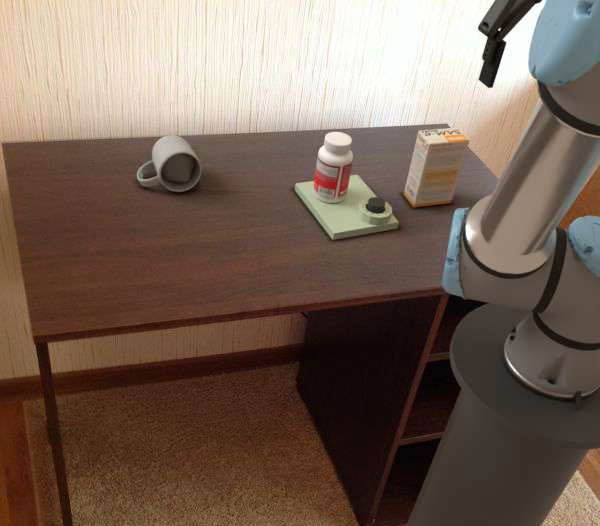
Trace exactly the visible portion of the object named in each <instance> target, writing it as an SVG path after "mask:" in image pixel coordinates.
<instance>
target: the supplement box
mask: <svg viewBox="0 0 600 526" xmlns="http://www.w3.org/2000/svg"><path fill="white" fill-rule="evenodd" d="M469 144H470V138H468V136H467V135H466V134H465V133H464V132H463V131H462V130H461V129H460V128H459V127H447V128H436V129H435V128H434V129H424V130H423V129H422V130H418V131H417V136H416V141H415V145H414V149H413V153H412V158H411V161H410V165H409V170H408V175H407V178H406V182H405V186H404V191H403V196H404V197H405V198H406V200H408V202H409V204H411V206H412V207H413V208H422V207H429V206H436V205H446V204H451V203H452V201H453V198H454V195H455V191H456V188H457V184H458V181H459V179H460V178H459V177H460V175H461V171H462V168H463V164H464V161H465V158H466V154H467V151H468V148H469Z"/></svg>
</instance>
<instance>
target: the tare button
mask: <svg viewBox="0 0 600 526" xmlns="http://www.w3.org/2000/svg"><path fill="white" fill-rule="evenodd" d="M385 202H386V201H385V200H384V199H383V198H381V197H378V196H377V197H372V198H370V199H369V200H368V205H367V210H368V211H370V212H372V213H376V214H380V213H383V211H384V207H385Z"/></svg>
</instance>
